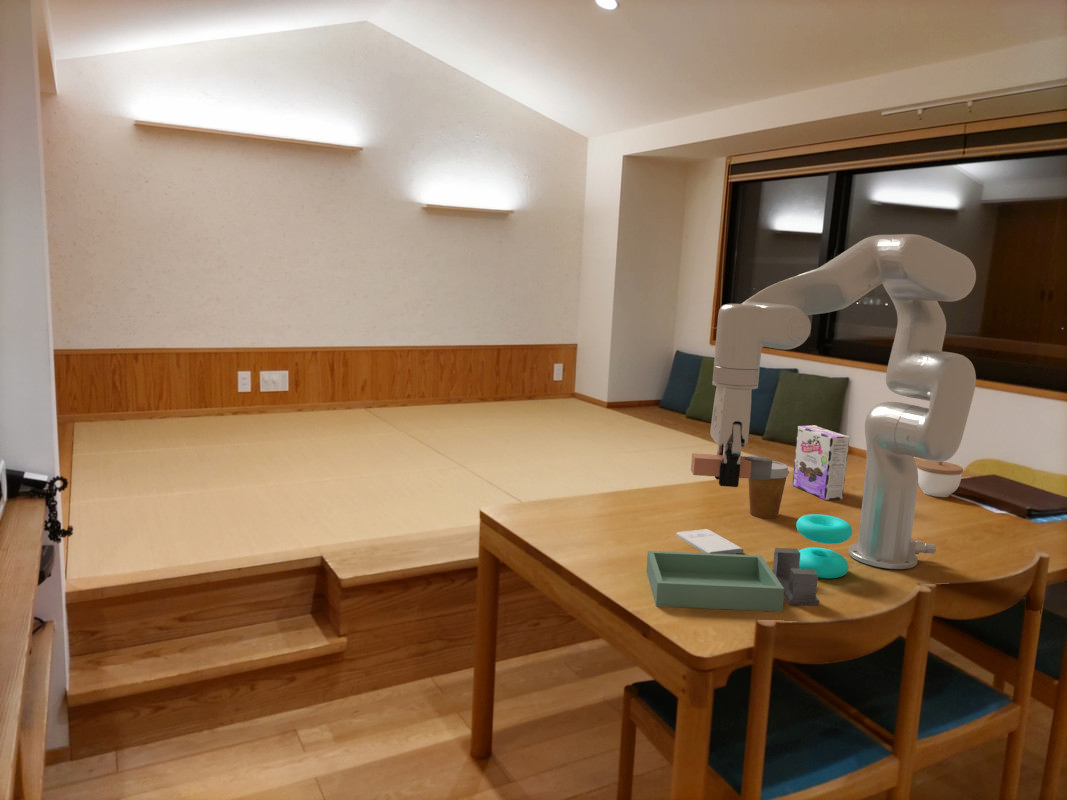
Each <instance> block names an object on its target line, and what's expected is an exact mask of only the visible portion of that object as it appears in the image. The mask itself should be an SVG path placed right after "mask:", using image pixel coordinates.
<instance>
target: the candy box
mask: <svg viewBox="0 0 1067 800" xmlns="http://www.w3.org/2000/svg"><path fill="white" fill-rule="evenodd" d="M850 438H851V437H850V435H845V434H842V433H839V432H835V431H832V430H829V429H827V428H823V427H821V426H818V425H817V424H816V425H814V424H812V425H798V426H797V432H796V442H795V453H794V461H793V462H794V463H793V474H792V476H793V477H792V483H791V484H792V486H793V487H795V488H797V489H799V490H802V491H804V492H806V493H809V494H811V495H812V496H816V497H817V498H819V499H821V500H824V501H830V500H831V501H832V500H834V501H835V500H843V497H844V488H845V479H846V473H847V472H846V471H847V463H848V456H849V455H848V454H849V447H850V445H849V444H850V440H851V439H850Z"/></svg>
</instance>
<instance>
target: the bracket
mask: <svg viewBox="0 0 1067 800" xmlns="http://www.w3.org/2000/svg"><path fill="white" fill-rule="evenodd" d="M799 563H800V552H799V549H797V548H794V547H793V548H787V547H774V551H773V565H772V566H773V567H772V569H771V570H772V572H773V573H774V574H775V576H776V577H777V579H778V580H779V582H780V583H781V585H782V586H783V587H784V597H783V599H785V601H786V602H787V604H788V605H790V606H809V607H810V606H811V607H819V604H820V599H819V598H818V597H817V589H818V588H817V587H818V582H819V581H818V580H819V578H818V574H817V573H816V571H815V570H814V569H799Z"/></svg>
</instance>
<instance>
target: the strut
mask: <svg viewBox="0 0 1067 800" xmlns="http://www.w3.org/2000/svg"><path fill="white" fill-rule="evenodd" d="M772 461H773V460H772V459H771V458H768V457H767V458H766V457H763V456H755V455H754V456H752V455H751V456H743V455H741V459H740V473H739V479H747V480H749V479H755V480H769V479H770V478H771V469H772ZM721 462H722V463H723V455H717V454H709V453H708V454H707V453H706V454H705V453H691V464H690V465H691V466H690V471H691V473H692V475H693V476H699V477H701V476H704V477H715V476H716V477H719V475H720V464H721Z"/></svg>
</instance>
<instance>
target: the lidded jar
mask: <svg viewBox="0 0 1067 800" xmlns="http://www.w3.org/2000/svg"><path fill="white" fill-rule="evenodd" d="M916 465H917V469H918V486H919V488H920V489H921V491H923V494H925V495H928V496H929V497H930V496H931V497H937V498H949V497H950V496H951V495H952V494H953V493H954V492H956V491H957V489H959V486H960V484H961V481H962V475H963V471H964V468H963V467H962V466H960V465H958V464H956V463H951V462H947V461H943V462H933V461H928V460H924V459H923V460H919V461H917V462H916Z"/></svg>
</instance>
